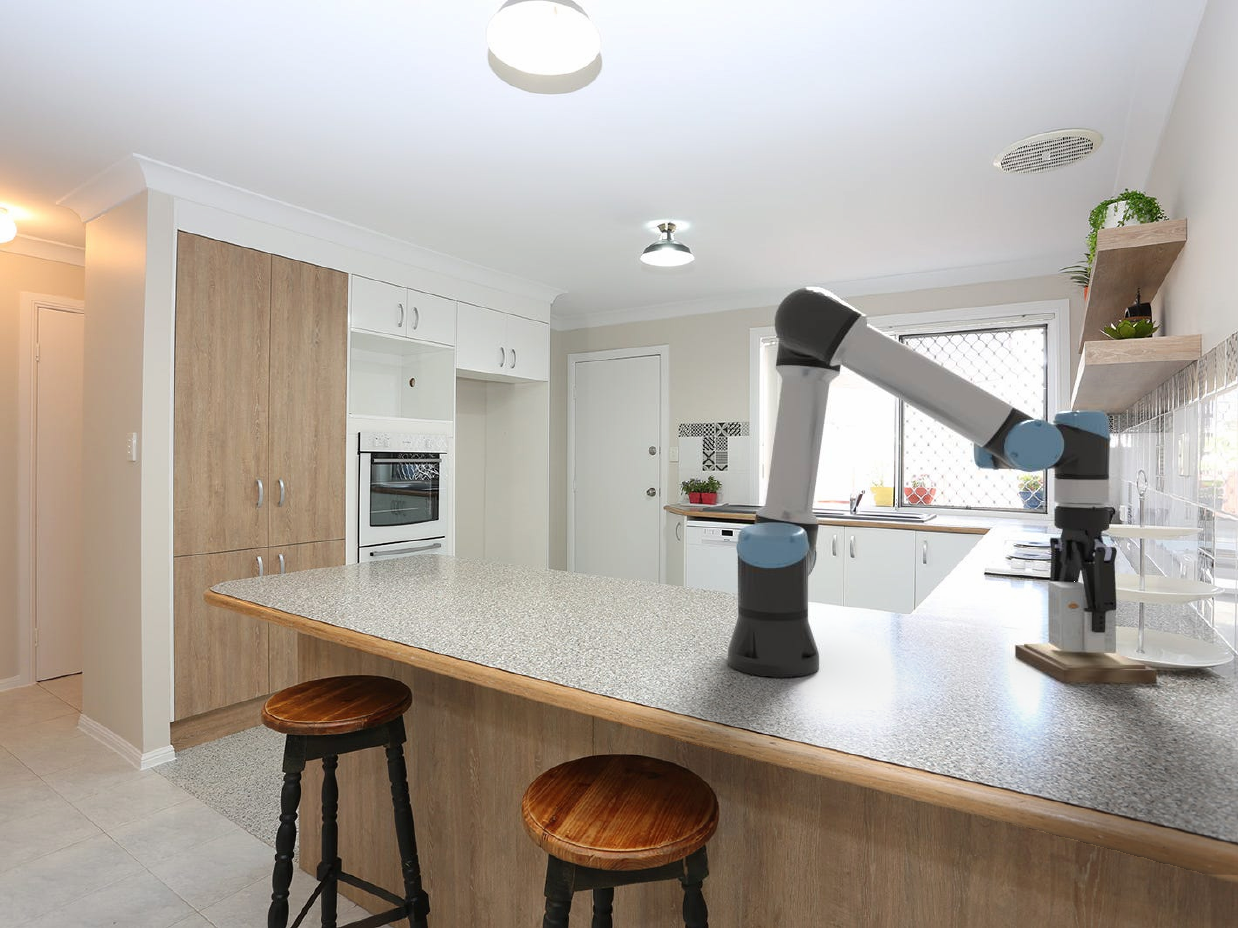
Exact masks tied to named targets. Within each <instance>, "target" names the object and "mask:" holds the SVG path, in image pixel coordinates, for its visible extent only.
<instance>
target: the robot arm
mask: <svg viewBox="0 0 1238 928" xmlns="http://www.w3.org/2000/svg"><path fill="white" fill-rule="evenodd" d="M774 331H775V333H776V336H777V339H778V344H777V354H776V360H775V367H774V368H775V371H777V373H778V374H779V376H780V377H781V379H782V380H781V384H780V385H781V387H780V391H779V392H780V393H779V400H778V401H779V402H778V409H777V417H776V422H775V423H776V424H775V429H774V431H775V432H774V439H773V445H772V453H771V461H770V466H769V467H770V469H769V475H768V483H767V490H766V497H765V498H766V499H765V504H764V506H762V507H761V508H760V509H758V510H757V511H755V517H754V519H755V520H754V524H749V525H746V526H744V527H742V529H741V530H740V531H739V532H738V535H737V536H738V537H737V544H736V554H737V606H738V607H737V618H736V619H737V620H736V623H735V626H734V629H733V632H732V636H731V638H730V640H729V641H730V642H729V644H728V648H727V663H728V665H729V666H730V667H731V668H732V669H735V670H737V671H739V672H742V673H745V674H750V675H752V676H753V675H754V676H759V677H760V676H761V677H766V676H770V677H769V678H793V677H792V676H797V677H802V676H808V675H810V674H813V672H814V673H815V672H817V671H819V669H820V652H819V649H818V646H817V643H816V641H815V636H814V635H813V632H812V629H811V625H810V622H809V576H810V575H811V574H812V571H813V569H814V568H815V565H816V562H817V556H818V555H817V547H816V546H817V541H818V533H819V525H820V520H819V519H818V517H817V516H816V515H815V514H814V512H813V506H814V499H815V492H816V485H817V476H818V471H819V465H820V464H819V463H820V456H821V451H822V450H821V448H822V442H823V434H824V429H825V427H824V426H825V420H826V419H825V418H826V411H827V404H828V398H829V391H830V390H829V389H830V384H831V383H832V381H834V380H835V379H836V378H837V377H839V376H840V373H841V368H842V367H845V368H846V369H848V370H849V371H852V372H853V373H854V374H856V375H857V376H860V377H862V378H863V379H865V380H866V381H868V382H870V383H871V384H873V385H874V386H875V385H876V386H877V387H878V388H880V389H881V390H883V391H885V392H887V393H889V394H890V395H891V396H893V397H895V398H897V399H899V400H900V401H902V402H904V403H906V404H907V405H908V406H911V407H913V408H914V409H916V410H918V411H919V412H921V413H923V414H924V415H926V416H928V417H929V418H931V419H933V420H934V421H936V422H938V423H939V424H941V425H943V426H945V427H946V428H948V429H950V430H952V431H953V432H955V433H956V434H958V435H960V436H962V437H964V438H965V439H967V440H968V441H970V442H972V443H973V459H974V463H975V465H976V467H978V468H979V469H986V470H987V469H988V470H995V471H996V470H997V471H998V470H1015V471H1017V470H1018V471H1022V472H1025V473H1026V472H1027V473H1034V472H1035V473H1036V472H1040V471H1043V470H1051V469H1053V471H1054V481H1053V482H1054V488H1053V489H1054V492H1053V493H1054V496H1053V499H1054V500H1053V501H1054V502H1055V503H1056V504H1058V505H1056V506H1055V507H1054V509H1053V510H1054V511H1053V512H1054V514H1053V515H1054V516H1053V517H1054V519H1053V520H1054V522H1053V523H1054V527H1055V528H1057V529H1060V530H1061V534H1060V537H1050V538H1049V545H1050V551H1051V552H1050V553H1051V555H1050V573H1049V578H1050V579H1049V582H1074V581H1075V582H1079V579H1080V574H1081V576H1082V582H1083V583H1084V588H1085V594H1086V599H1087V604H1088V608H1083V609H1084V651H1085V652H1105V617H1106V612H1108V611H1111V610H1116V611H1117V588H1116V582H1117V581H1116V565H1115V563H1116V559H1117V558H1116V557H1117V554H1118V551H1117V547H1115V546H1107V545H1106V544H1104V543H1105V542H1104V540H1103V536H1102V532H1105V531H1108V530H1109V529H1110V509H1109V508H1108V507H1106V506H1105V505H1108V504H1109V503H1110V481H1109V480H1110V454H1111V453H1110V449H1111V444H1110V443H1111V440H1112V437H1111V433H1110V421H1109V420H1110V419H1109V416H1108V414H1107V413H1106V412H1105V411H1102V410H1070V411H1069V410H1068V411H1060V412H1057V413H1056V414H1055V415H1054V420H1053V422H1052V423H1050V422H1048V421H1046V420H1045V419H1044V420H1043V419H1038V418H1033V417H1032V416H1030V415H1028V414H1027V413H1025V412H1023V411H1022V410H1019V409H1017V408H1015V407H1014V406H1012V405H1011V404H1009V403H1007V402H1005V401H1004V400H1002V399H1001V398H999V397H997V396H996V395H994V394H991V393H989V392H988V391H986V390H984V389H983V388H981V387H979V386H977V385H976V384H974V383H972V382H970V381H969V380H967V379H965V378H963V377H962V376H960V375H958V374H957V373H955V372H954V371H951V370H949V369H947V368H946V367H944V366H942V365H941V364H939V363H937V362H935V361H934V360H932V359H930V358H928V357H927V356H924V355H923V354H921V353H919V352H918V351H916V350H915V349H912V348H911V347H909V346H907V345H905V344H904V343H902V342H900V341H899V340H896V339H895V338H893V337H891V336H890V335H888V334H886V333H885V332H883V331H881V330H880V329H878V328H876V327H874V326H872V325H870V324H869V323H868V320H867V315H866V314H864V313H862V312H861V311H859V310H857V309H856V308H854V307H853V306H851V305H850V304H848V303H846V302H845V301H844V300H841V299H840V298H839V297H837V295H834V294H833V293H831V292H830V291H828V290H826V289H824V288H822V287H821V288H820V287H817V286H816V287H814V286H807V287H802V288H799V289H796V290H794V291H792V292H790V293H789V294H788V295H786V297H785V298H784V299H783V300H782V301H781V302H780V304H779V305H778V307H777V310H776V312H775V316H774ZM841 366H842V367H841ZM1095 603H1096V604H1095ZM816 670H817V671H816ZM771 676H772V677H771ZM790 676H791V677H790Z"/></svg>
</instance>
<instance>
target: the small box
mask: <svg viewBox="0 0 1238 928" xmlns="http://www.w3.org/2000/svg"><path fill="white" fill-rule="evenodd" d="M1047 586H1048V589H1047V590H1048V599H1047V600H1048V601H1047V602H1048V606H1047V609H1048V610H1047V611H1048V625H1047V626H1048V644H1052V645H1054V646H1055V647H1057V648H1058V649H1060V650H1061V651H1069V652H1085V651H1084V609H1083V608H1088V604H1087V599H1086V594H1085V588H1084V583H1083V581H1078V582H1050V581H1048V584H1047ZM1095 604H1096V603H1095ZM1116 619H1117V609H1116V610H1111V611H1108V612H1106V617H1105V652H1095V653H1117V628H1116V627H1117V623H1116V622H1117V621H1116Z"/></svg>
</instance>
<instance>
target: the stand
mask: <svg viewBox="0 0 1238 928" xmlns="http://www.w3.org/2000/svg"><path fill="white" fill-rule="evenodd" d="M1014 646H1015V647H1014V649H1015V650H1014V651H1015V653H1014V656H1015V657H1016V658H1018V659H1019V660H1021V661H1023V662H1025V663H1026V664H1028V665H1030V666H1032V667H1034V668H1036V669H1037V670H1040V671H1042V672H1043V673H1044V674H1047V675H1048V676H1051V677H1053V678H1054V679H1056V680H1058V681H1060V682H1062V683H1065V684H1066V683H1067V684H1069V683H1072V684H1076V683H1079V684H1083V683H1084V684H1085V683H1086V684H1099V683H1100V684H1102V683H1103V684H1157V677H1158V675H1157V674H1158V673H1157V670H1158V669H1155V668H1153V667H1150V666H1148V665H1146V664H1144V663H1142V662H1139V661H1137V660H1135V659H1131V658H1129V657H1128V656H1125V655H1123V654H1121V653H1118V652H1116V653H1095V652H1069V651H1061V650H1060V649H1058V648H1057V647H1055V646H1054V645H1052V644H1050V643H1024V644H1015V645H1014Z"/></svg>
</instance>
